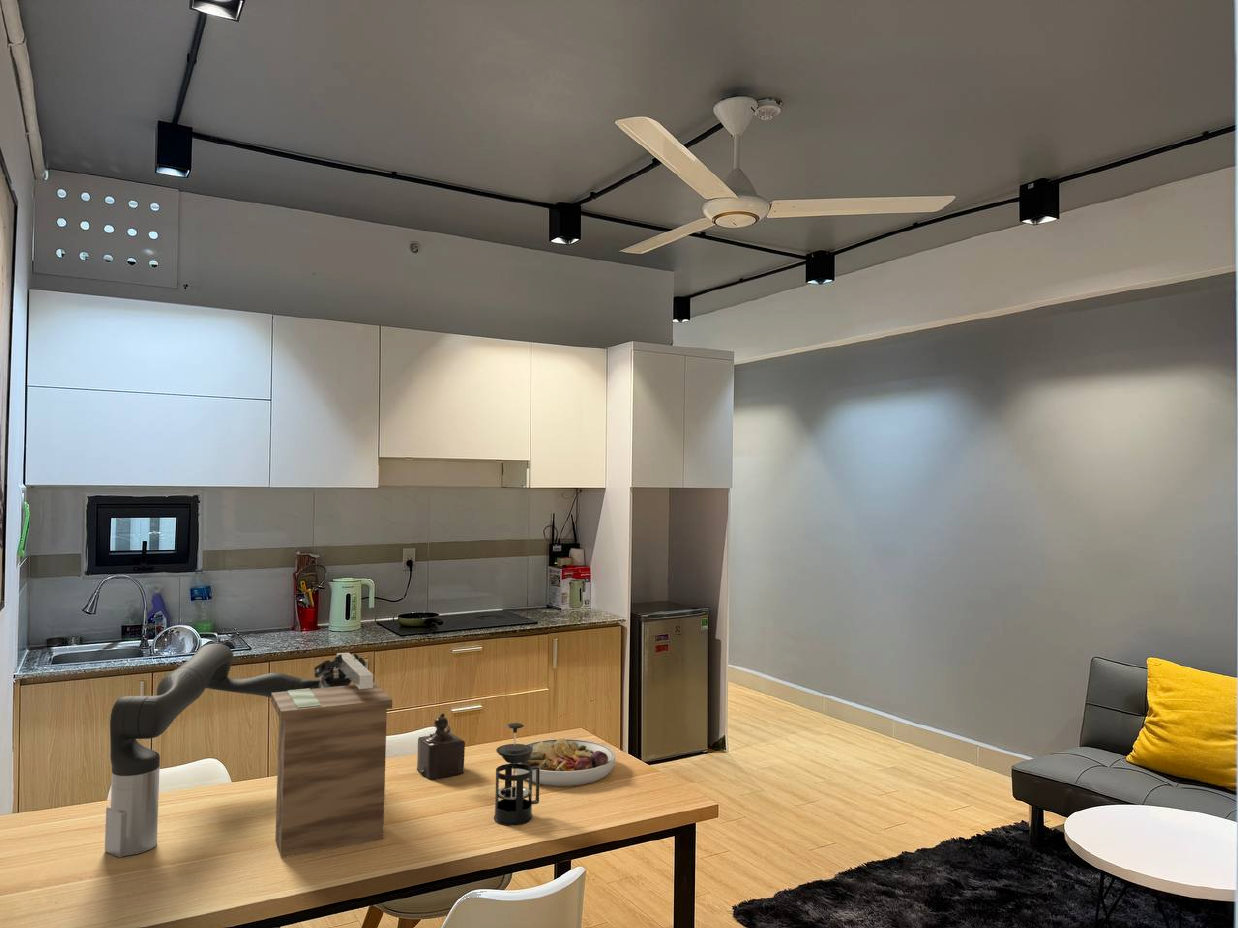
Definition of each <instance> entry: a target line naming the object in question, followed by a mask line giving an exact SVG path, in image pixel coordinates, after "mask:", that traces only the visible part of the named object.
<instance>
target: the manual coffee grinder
mask: <svg viewBox="0 0 1238 928" xmlns="http://www.w3.org/2000/svg"><path fill="white" fill-rule="evenodd" d="M433 723H434V728H435V729H436V730H435V731H434V733H429V735H425V736H418V738H417V759H416V760H417V761H416V762H417V765H416V771H417V772H419V774H420V775H422V776H423V777H425V778H426V779H429V780H431V781H432V780H440V779H446V778H451V777H457V776H460V775H463V774H465V773H464V769H465V768H464V767H465V752H466V751H465V750H466V749H465V748H466V747H465V746H466V741H464V739H462V738H460V737H458V736H457V735H455V734H454V733H452V732H451V727H450V725H449V720H448V718H447V717H445V713H443V712H442V713H441V714H439V717H437V718H435V719H434V722H433ZM445 729H446V730H445Z"/></svg>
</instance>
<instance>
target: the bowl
mask: <svg viewBox="0 0 1238 928" xmlns="http://www.w3.org/2000/svg"><path fill="white" fill-rule="evenodd" d="M524 745H528V746H531V747H532V748H533V751H532V752H531V759H530V760H528V761H526V762H522V763H520V764H526V765H529V766H531V767H533V766H537V767H538V768H539V769H540V774H539V785H543V786H550V785H551V786H552V787H574V785H575V786H581V785H586V784H591V783H595V782H597V781H599V780H602V779H603V778H605V777H607V775H608V774H610V773H611V771H613V768H614V766H615V764H616V763H615V762H616V753H615V751H614V750H613V749H612V748H611V747H609V746H607V745H605V744H601V743H599V742H595V741H590V740H586V739H576V738H575V739H574V738H564V737H563V738H553V739H552V738H551V739H542V740H537V741H536V740H535V741H532V742H528V743H526V744H524ZM528 772H529V771H527V770H524V769H515V774H516V775H521V774H526V773H528ZM525 780H527V781H528V782H529V778H528V779H525ZM532 783H535V784H536V770H532Z"/></svg>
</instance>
